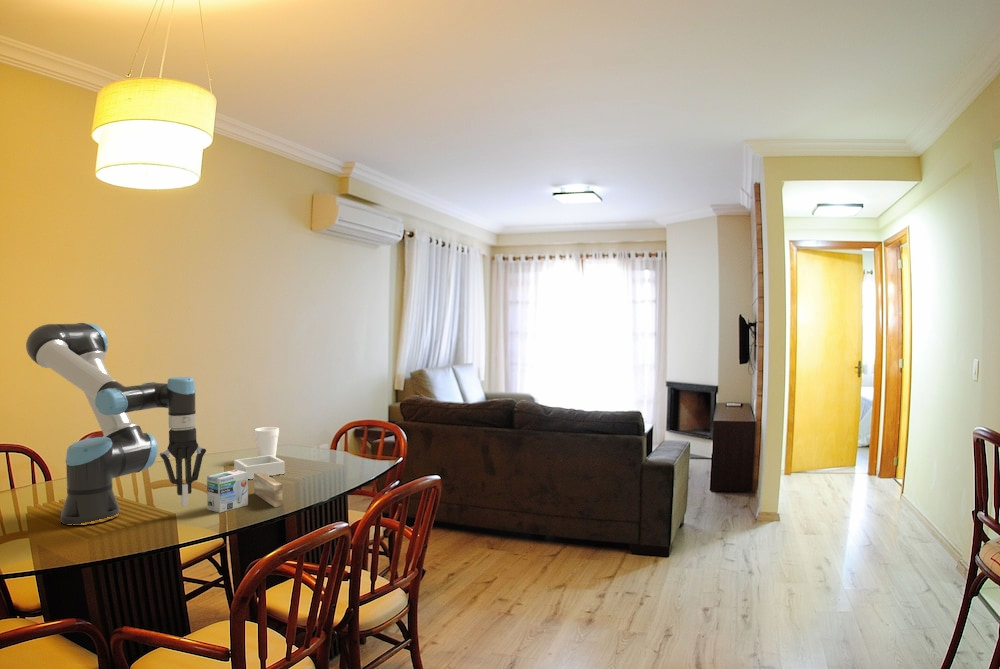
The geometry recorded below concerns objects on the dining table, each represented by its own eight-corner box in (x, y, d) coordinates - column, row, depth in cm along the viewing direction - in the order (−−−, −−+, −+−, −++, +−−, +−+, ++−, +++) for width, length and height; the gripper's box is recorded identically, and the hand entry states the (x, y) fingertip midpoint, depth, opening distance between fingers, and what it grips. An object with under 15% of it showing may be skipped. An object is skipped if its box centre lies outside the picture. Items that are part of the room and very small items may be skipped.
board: (274, 507, 214) (274, 485, 213) (254, 493, 230) (254, 473, 229) (282, 505, 215) (282, 484, 215) (261, 492, 231) (261, 471, 231)
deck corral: (246, 480, 246) (245, 467, 246) (234, 472, 258) (234, 459, 257) (284, 474, 255) (284, 461, 255) (271, 467, 266) (271, 454, 266)
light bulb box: (219, 513, 207) (219, 478, 207) (206, 509, 211) (205, 475, 210) (249, 504, 216) (248, 471, 216) (235, 501, 220) (235, 468, 220)
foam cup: (258, 457, 283) (258, 427, 283) (281, 457, 284) (280, 426, 284) (252, 463, 274) (252, 431, 273) (276, 462, 275) (275, 431, 274)
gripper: (161, 432, 198) (163, 511, 198) (208, 427, 206) (210, 503, 206) (156, 428, 204) (158, 506, 204) (202, 424, 212) (204, 498, 212)
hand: (184, 504), depth 205 cm, fingers closed
